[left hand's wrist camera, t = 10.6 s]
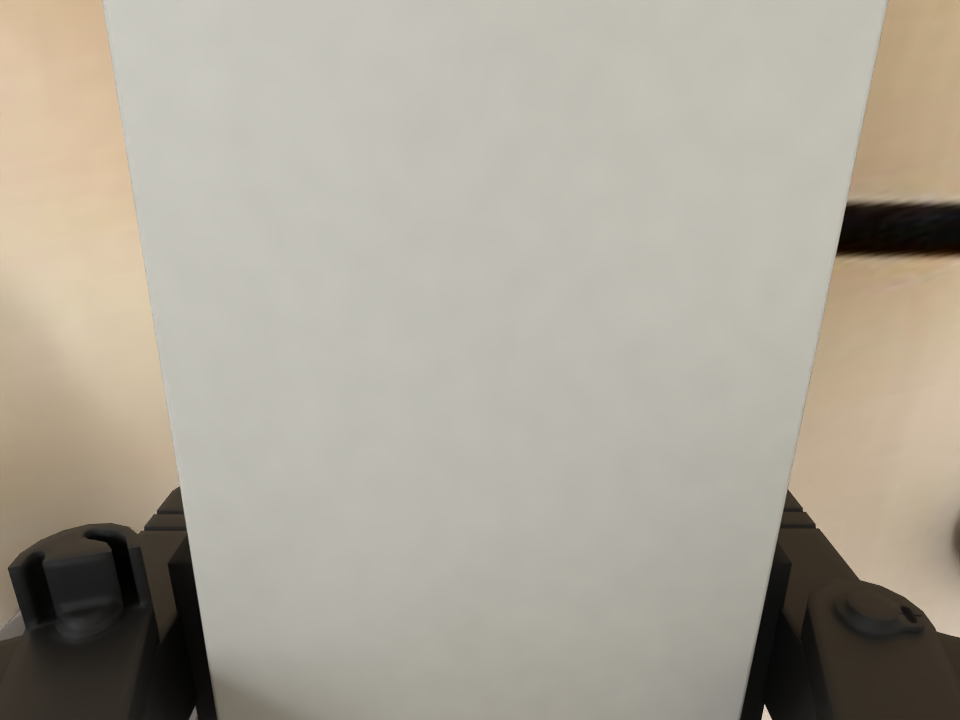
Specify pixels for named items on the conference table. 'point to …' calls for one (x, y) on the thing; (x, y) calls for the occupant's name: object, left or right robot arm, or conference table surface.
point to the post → (487, 335)
